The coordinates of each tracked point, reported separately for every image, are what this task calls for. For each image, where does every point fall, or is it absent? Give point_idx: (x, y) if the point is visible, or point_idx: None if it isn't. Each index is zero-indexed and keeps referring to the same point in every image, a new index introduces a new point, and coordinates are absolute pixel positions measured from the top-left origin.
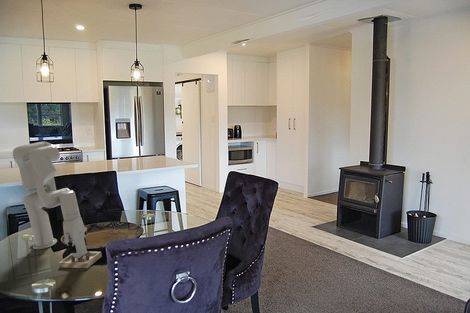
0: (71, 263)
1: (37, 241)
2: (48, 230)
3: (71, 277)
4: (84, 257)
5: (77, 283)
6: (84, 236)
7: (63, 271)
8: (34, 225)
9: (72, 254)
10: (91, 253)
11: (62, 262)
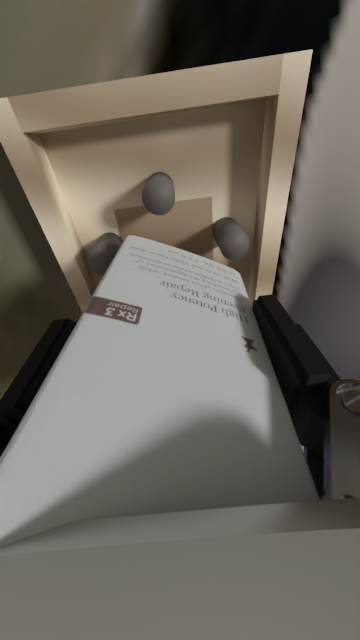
0: (67, 275)
1: None
2: None
3: (9, 339)
4: None
5: (5, 391)
6: (316, 464)
7: (6, 230)
8: None
9: (120, 249)
10: (252, 301)
11: (14, 165)
